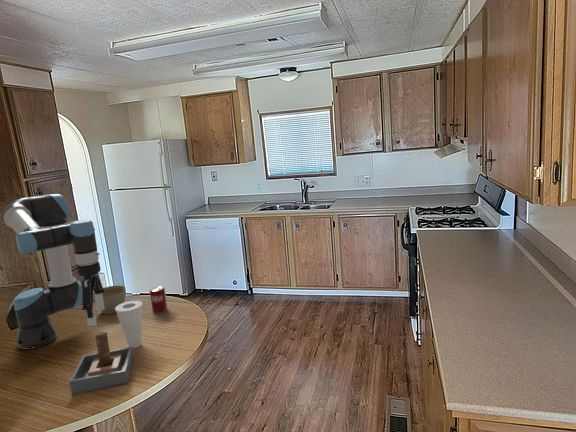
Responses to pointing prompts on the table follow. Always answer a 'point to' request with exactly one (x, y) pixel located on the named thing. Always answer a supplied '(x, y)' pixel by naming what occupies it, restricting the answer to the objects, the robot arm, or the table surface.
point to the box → (102, 371)
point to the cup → (131, 321)
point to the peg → (103, 349)
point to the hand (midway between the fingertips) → (96, 317)
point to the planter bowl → (112, 298)
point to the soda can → (158, 300)
